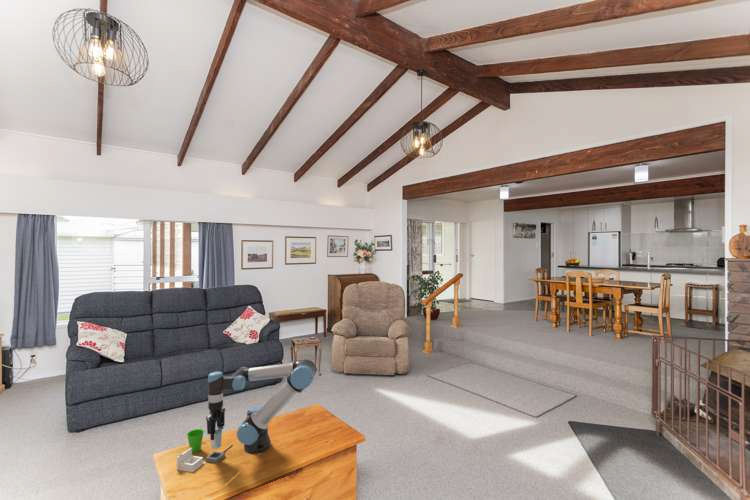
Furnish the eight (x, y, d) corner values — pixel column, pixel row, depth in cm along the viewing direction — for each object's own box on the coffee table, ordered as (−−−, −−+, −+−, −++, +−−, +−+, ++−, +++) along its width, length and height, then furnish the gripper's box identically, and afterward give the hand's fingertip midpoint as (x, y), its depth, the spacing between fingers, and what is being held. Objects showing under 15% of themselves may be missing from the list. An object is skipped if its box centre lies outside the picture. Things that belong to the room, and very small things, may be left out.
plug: (221, 445, 212) (221, 426, 212) (217, 449, 208) (216, 430, 208) (215, 445, 213) (215, 426, 213) (211, 448, 209) (210, 429, 209)
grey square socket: (224, 457, 213) (224, 452, 213) (216, 464, 206) (216, 459, 206) (214, 455, 215) (214, 451, 215) (205, 462, 208) (205, 457, 208)
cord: (233, 446, 225) (233, 444, 225) (220, 456, 214) (220, 454, 214) (232, 446, 225) (232, 444, 225) (219, 456, 214) (219, 454, 214)
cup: (197, 456, 214) (197, 436, 214) (183, 454, 216) (183, 435, 216) (207, 448, 223) (207, 429, 223) (193, 446, 224) (193, 428, 225)
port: (205, 463, 207) (205, 449, 207) (192, 473, 197) (192, 458, 198) (190, 460, 210) (190, 446, 210) (176, 470, 200) (176, 456, 200)
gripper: (219, 394, 220) (220, 435, 220) (199, 406, 203) (199, 450, 203) (231, 395, 218) (231, 436, 218) (211, 407, 201) (211, 451, 201)
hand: (216, 442), depth 210 cm, fingers closed on plug, 4 cm apart
